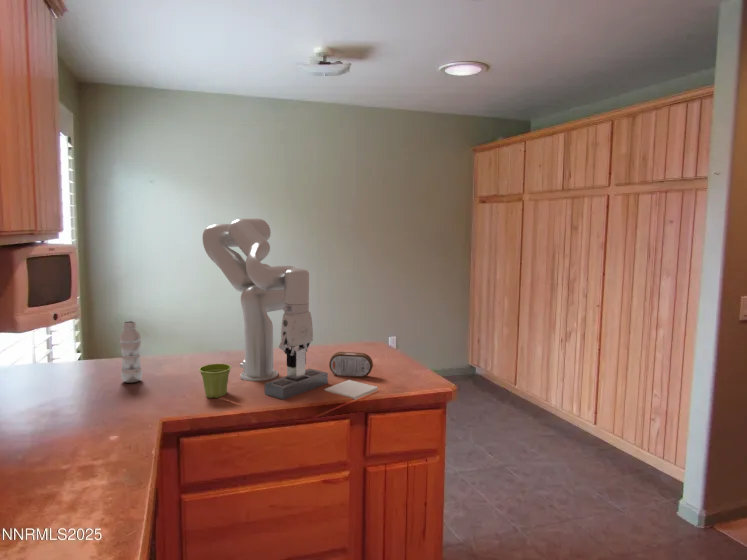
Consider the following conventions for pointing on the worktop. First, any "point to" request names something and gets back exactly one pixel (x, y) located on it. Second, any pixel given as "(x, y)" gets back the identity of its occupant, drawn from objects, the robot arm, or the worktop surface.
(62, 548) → the worktop surface
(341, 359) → the tin
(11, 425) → the worktop surface
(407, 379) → the worktop surface
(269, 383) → the grey compartment holder
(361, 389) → the pad
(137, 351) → the plastic bottle
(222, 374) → the plant pot
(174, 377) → the worktop surface
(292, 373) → the steel block
